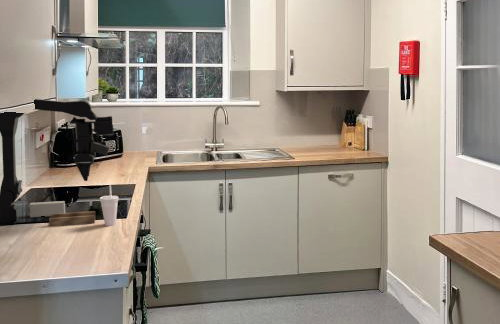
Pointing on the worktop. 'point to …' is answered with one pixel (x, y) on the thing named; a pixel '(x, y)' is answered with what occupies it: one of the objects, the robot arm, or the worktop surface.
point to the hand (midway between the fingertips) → (86, 178)
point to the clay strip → (46, 208)
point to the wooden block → (72, 218)
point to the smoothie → (109, 208)
